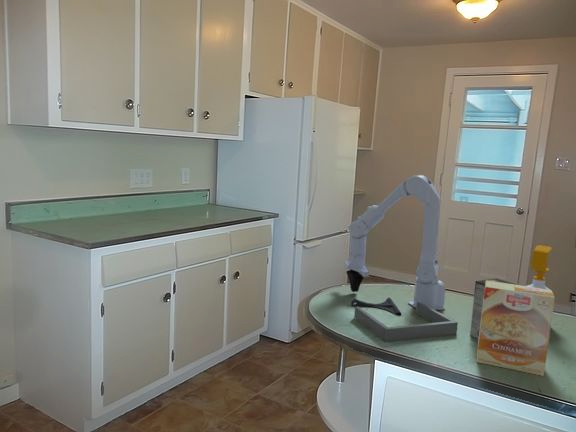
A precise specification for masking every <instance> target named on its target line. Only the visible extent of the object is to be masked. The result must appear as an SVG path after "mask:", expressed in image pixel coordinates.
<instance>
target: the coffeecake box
mask: <svg viewBox="0 0 576 432" xmlns="http://www.w3.org/2000/svg"><path fill="white" fill-rule="evenodd" d="M485 280H486V282H485V289H484V298H483V307H482V315H481V323H480V330H479V339H478V338H477V339H478V340H477V341H478V342H477V347H476V348H477V350H476V363H480V364H485V365H490V366H495V367H500V368H504V369H508V370H512V371H518V372H523V373H528V374H533V375H537V376H541V377H544V376H545V371H546V364H547V357H548V356H547V355H548V350H549V342H550V335H551V328H552V322H553V321H552V320H553V314H554V307H555V298H556V297H555V295H553V294H554V292H553V291H552V289H550V290H548V289H549V288H548V289H541V288H534V287H528V286H527V285H520V284H516V285H514V284H515V283H514V284H508V283H501V282H494V281H488V279H485Z"/></svg>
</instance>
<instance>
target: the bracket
mask: <svg viewBox="0 0 576 432" xmlns="http://www.w3.org/2000/svg"><path fill="white" fill-rule="evenodd" d="M350 304H351V307H360V308H361V307H362V308H363V307H364V308H376V309H381V310H383V311H387V312H389V313H391V314H393V315H394V316H395V315H396V316H398V314H399V316H402V312H401V311H400V310H399V308H398V306H397V305H396V303H395V302H394V301H393V299H392V298H391V297H387V298H386V299H385V301H383V302H379V303H373V302H372V303H371V302H365V301H361V300H359V299H356V298H353V299H352V300H351V302H350Z"/></svg>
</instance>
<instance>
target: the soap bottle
mask: <svg viewBox="0 0 576 432" xmlns="http://www.w3.org/2000/svg"><path fill="white" fill-rule="evenodd" d="M552 249H553V248H552V246H549V245H547V246H546V245H540V244H538V245H536V246H535V248H534V249H533V252H532V257H531V264H530V269H531V270H534V272H535V273H536V276H535V275H534V276H533V278H532V283H531V284H528V285H527V284H526V286H528V287H534V288H541V289H548V290H551V289H550V288H549V287H547V286H546V277H544V274H546V273H548V272H549V271H550V268H547V266H548V258H549V255H550V253H551V251H552ZM553 295H554V293H553ZM554 296H555V295H554Z"/></svg>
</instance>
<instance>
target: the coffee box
mask: <svg viewBox="0 0 576 432" xmlns="http://www.w3.org/2000/svg"><path fill="white" fill-rule="evenodd" d="M486 280H488V281H494V282H501V283H508V284H514V285H517V284H516V283H514V282H510V281H508V280H503V279H500V278H491V279H481V280H475V284H474V293H473V303H472V312H471V313H472V314H471V320H470V321H471V322H470V323H471V324H470V332H469V335H470V336H471V337H475V338H476V339H479V330H480V323H481V315H482V307H483V298H484V289H485V282H486Z"/></svg>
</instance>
